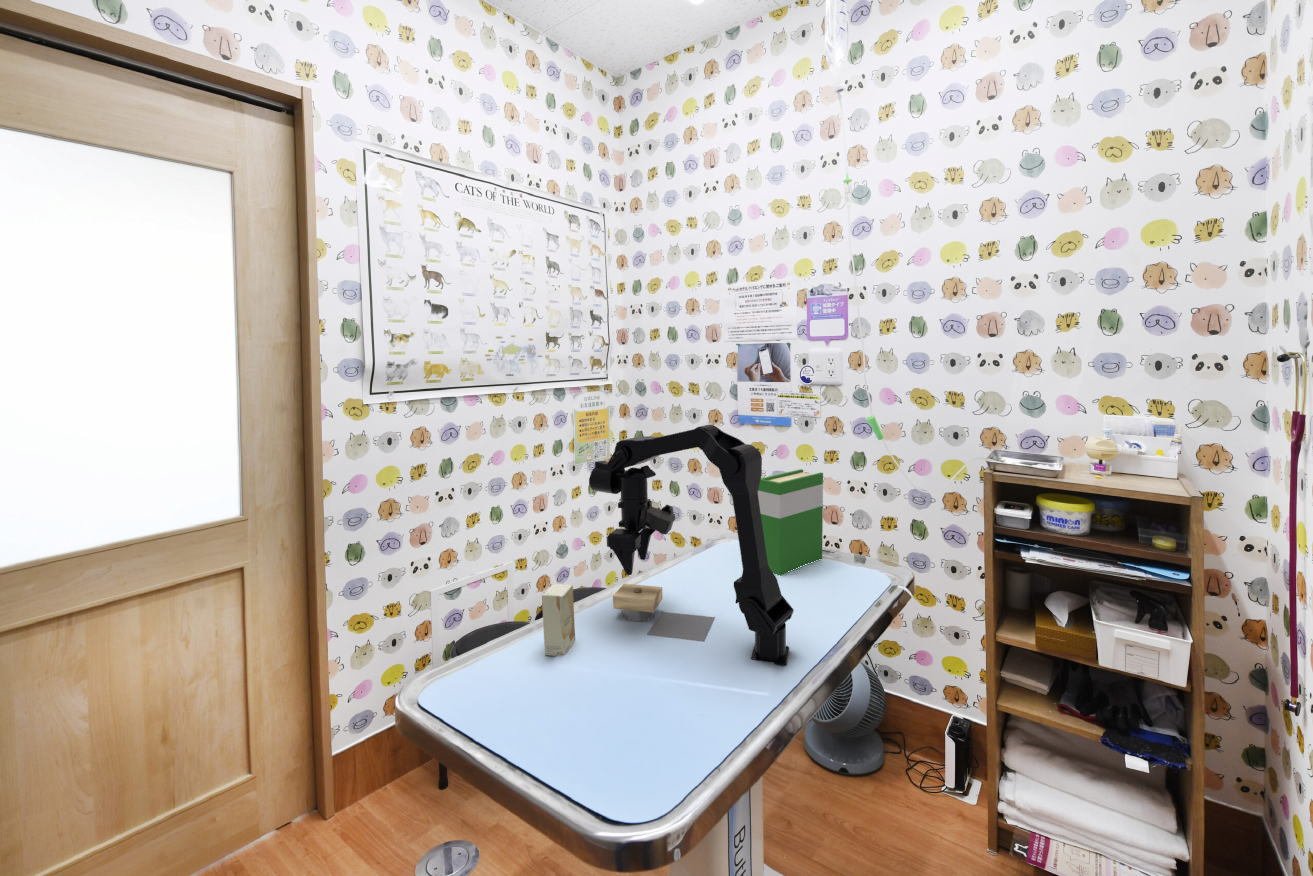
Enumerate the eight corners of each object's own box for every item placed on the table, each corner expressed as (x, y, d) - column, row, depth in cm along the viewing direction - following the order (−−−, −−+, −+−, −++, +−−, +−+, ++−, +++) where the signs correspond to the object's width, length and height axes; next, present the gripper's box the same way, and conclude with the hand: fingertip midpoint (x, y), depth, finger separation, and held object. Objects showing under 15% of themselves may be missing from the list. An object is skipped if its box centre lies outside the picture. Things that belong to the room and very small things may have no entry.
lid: (653, 612, 124) (652, 597, 124) (613, 608, 127) (612, 593, 126) (662, 599, 131) (662, 584, 130) (624, 595, 133) (623, 581, 133)
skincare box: (565, 657, 113) (562, 596, 111) (544, 656, 113) (540, 595, 112) (576, 641, 119) (573, 583, 117) (556, 640, 120) (552, 582, 118)
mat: (704, 643, 116) (704, 641, 116) (646, 637, 120) (646, 634, 120) (715, 619, 127) (715, 617, 127) (661, 613, 130) (661, 611, 130)
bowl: (648, 624, 125) (647, 611, 125) (620, 621, 127) (619, 608, 127) (657, 611, 131) (656, 599, 131) (629, 609, 133) (629, 596, 133)
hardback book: (800, 552, 167) (800, 469, 163) (822, 559, 161) (823, 473, 157) (757, 568, 156) (757, 479, 152) (779, 575, 150) (779, 483, 147)
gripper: (657, 510, 114) (659, 586, 116) (681, 488, 132) (683, 555, 134) (604, 507, 117) (607, 581, 120) (634, 486, 135) (636, 551, 137)
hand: (636, 566), depth 128 cm, fingers open, 9 cm apart
